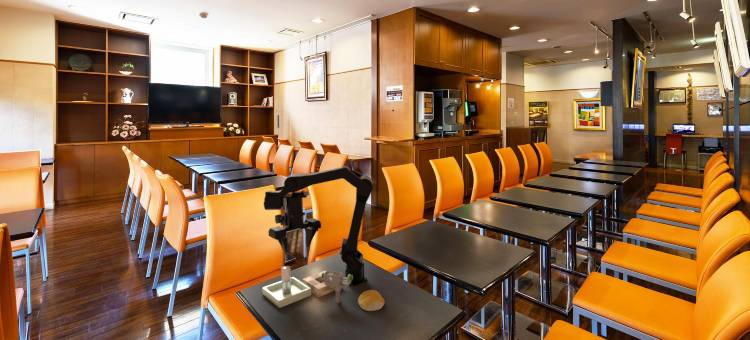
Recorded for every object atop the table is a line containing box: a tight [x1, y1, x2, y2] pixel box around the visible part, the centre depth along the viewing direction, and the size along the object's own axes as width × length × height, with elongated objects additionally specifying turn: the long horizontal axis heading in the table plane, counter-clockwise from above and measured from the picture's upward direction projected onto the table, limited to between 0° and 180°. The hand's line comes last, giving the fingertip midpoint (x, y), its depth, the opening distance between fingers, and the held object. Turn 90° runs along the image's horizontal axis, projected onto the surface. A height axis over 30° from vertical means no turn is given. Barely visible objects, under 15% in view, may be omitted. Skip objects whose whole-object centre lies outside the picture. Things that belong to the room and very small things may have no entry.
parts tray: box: [262, 276, 312, 309], centre depth 123 cm, size 12×12×2 cm
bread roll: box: [357, 289, 385, 312], centre depth 117 cm, size 8×9×4 cm
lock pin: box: [280, 265, 292, 295], centre depth 122 cm, size 3×3×9 cm
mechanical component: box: [322, 270, 353, 304], centre depth 117 cm, size 3×10×10 cm, turn 78°
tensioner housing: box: [302, 270, 343, 298], centre depth 128 cm, size 10×10×3 cm
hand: (296, 250), depth 131 cm, fingers open, 9 cm apart
